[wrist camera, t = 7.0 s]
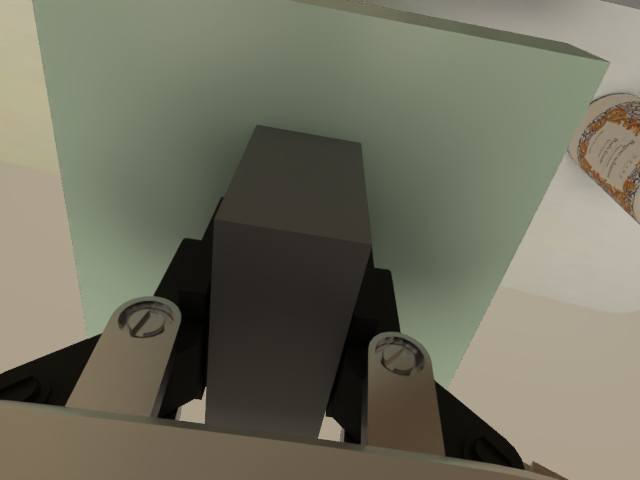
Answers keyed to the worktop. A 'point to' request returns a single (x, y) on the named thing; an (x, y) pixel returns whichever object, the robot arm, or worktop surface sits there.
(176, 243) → the lid
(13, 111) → the worktop surface
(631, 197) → the bath foam
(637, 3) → the grey open storage bin
